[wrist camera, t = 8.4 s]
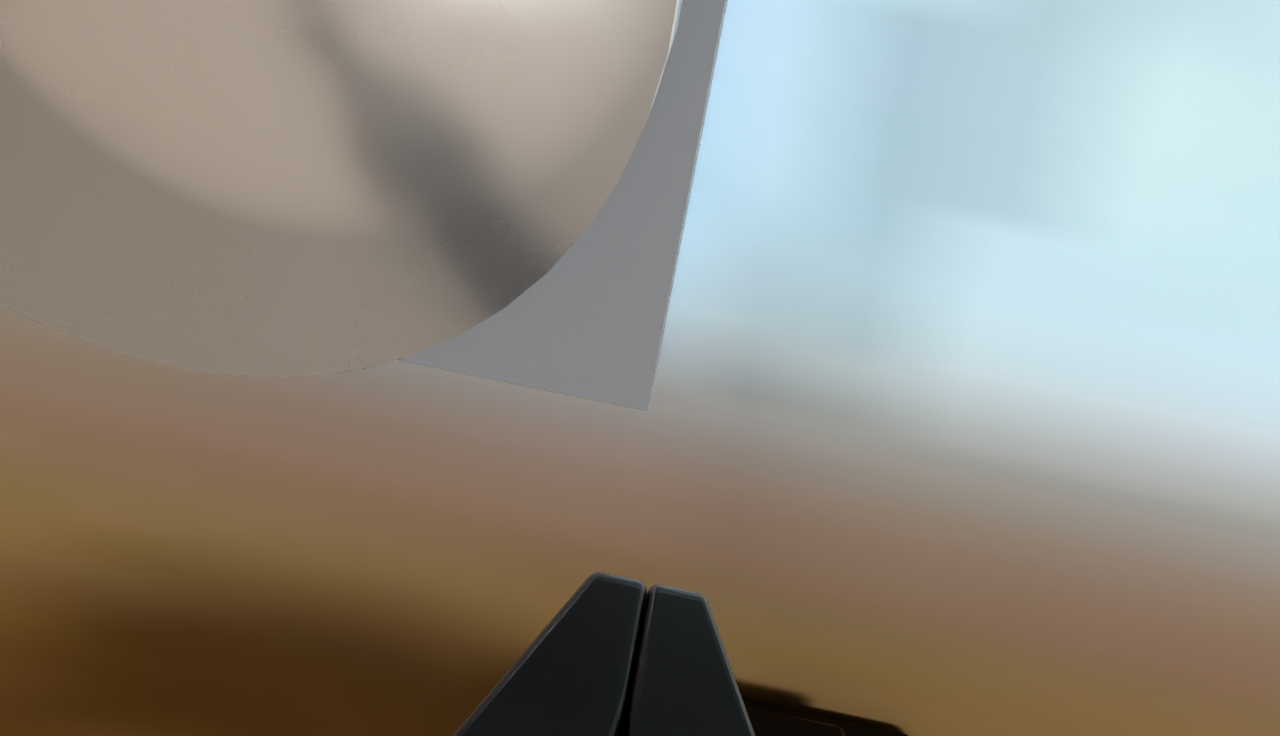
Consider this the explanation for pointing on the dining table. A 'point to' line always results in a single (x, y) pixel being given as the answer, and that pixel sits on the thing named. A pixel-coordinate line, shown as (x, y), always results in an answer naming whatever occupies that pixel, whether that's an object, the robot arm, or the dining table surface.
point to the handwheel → (306, 167)
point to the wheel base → (609, 257)
